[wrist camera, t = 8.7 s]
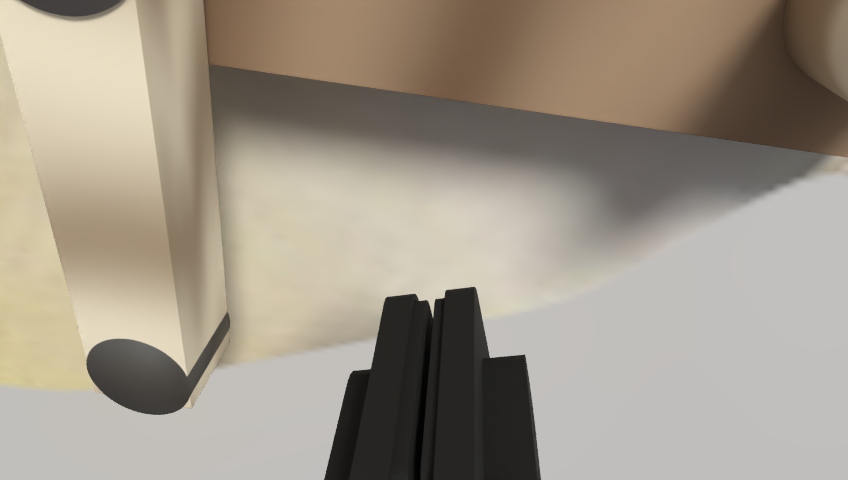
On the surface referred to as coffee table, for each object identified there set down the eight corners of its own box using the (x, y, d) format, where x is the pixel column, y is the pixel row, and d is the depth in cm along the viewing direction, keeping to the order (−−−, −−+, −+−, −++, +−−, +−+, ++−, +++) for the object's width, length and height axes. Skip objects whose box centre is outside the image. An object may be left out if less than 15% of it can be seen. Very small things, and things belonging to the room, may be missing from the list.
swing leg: (26, -222, 10) (-107, -251, 8) (208, -195, 10) (126, -216, 8) (136, 338, 17) (83, 406, 15) (242, 356, 17) (204, 426, 15)
